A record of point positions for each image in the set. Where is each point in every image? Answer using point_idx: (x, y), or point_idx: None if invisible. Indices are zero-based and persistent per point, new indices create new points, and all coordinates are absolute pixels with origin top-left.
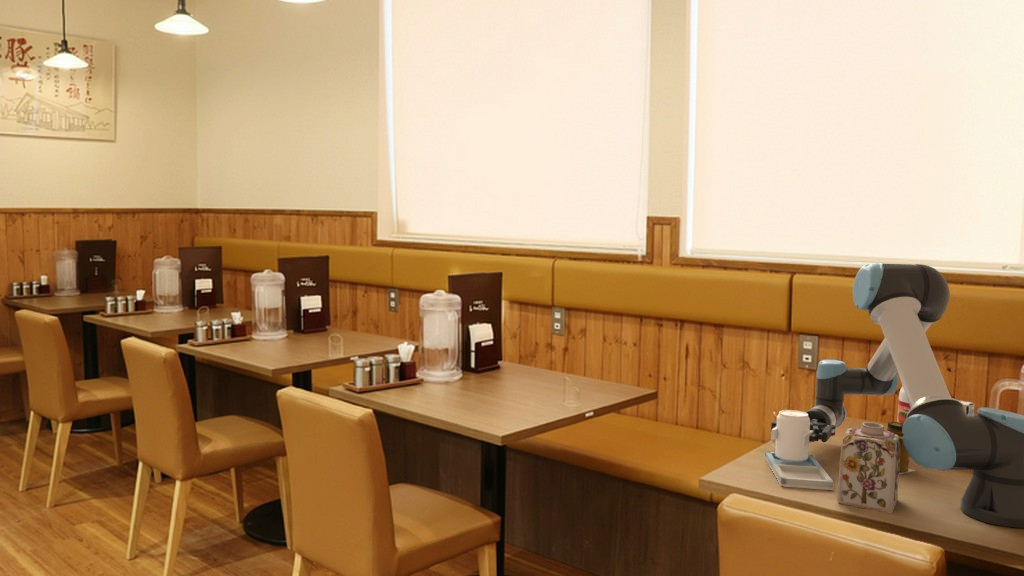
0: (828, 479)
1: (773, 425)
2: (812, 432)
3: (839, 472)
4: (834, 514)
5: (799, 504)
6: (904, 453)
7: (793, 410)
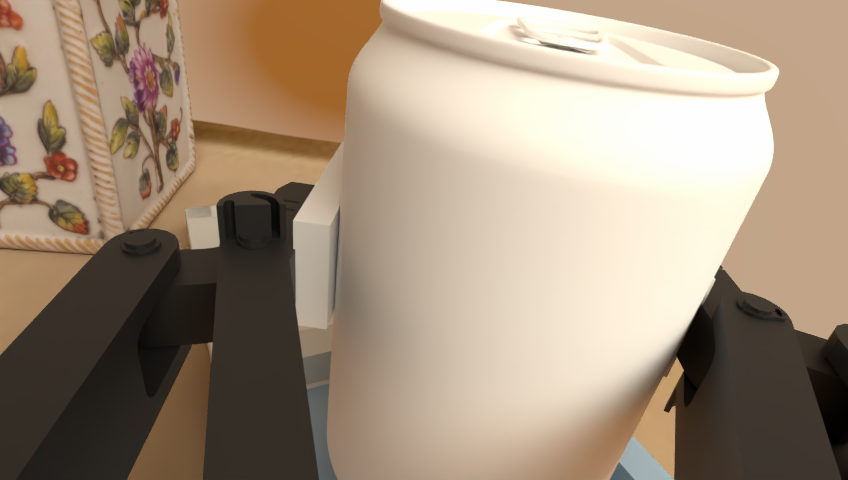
0: (204, 222)
1: (819, 339)
2: (303, 215)
3: (184, 59)
4: (219, 130)
5: (313, 148)
6: None
7: (694, 71)
